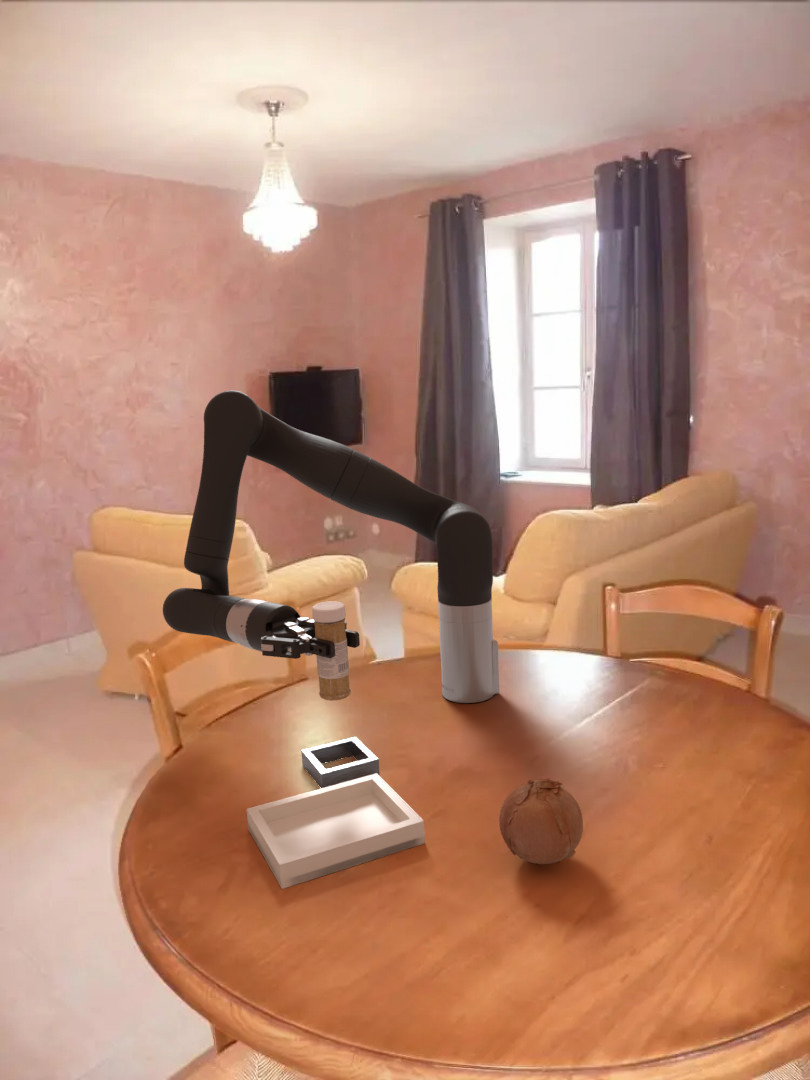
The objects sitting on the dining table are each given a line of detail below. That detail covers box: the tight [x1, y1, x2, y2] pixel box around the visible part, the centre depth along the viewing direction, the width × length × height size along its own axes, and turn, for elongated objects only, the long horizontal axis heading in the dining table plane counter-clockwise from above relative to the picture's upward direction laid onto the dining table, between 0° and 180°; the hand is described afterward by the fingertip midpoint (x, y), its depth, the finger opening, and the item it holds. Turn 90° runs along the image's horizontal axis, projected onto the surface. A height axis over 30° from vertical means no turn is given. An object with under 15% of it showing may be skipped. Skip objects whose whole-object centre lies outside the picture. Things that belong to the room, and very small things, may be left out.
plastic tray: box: [246, 773, 426, 890], centre depth 102 cm, size 18×14×3 cm
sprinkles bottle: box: [311, 600, 352, 702], centre depth 116 cm, size 5×5×14 cm
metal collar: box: [300, 736, 380, 789], centre depth 119 cm, size 9×9×2 cm
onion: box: [498, 777, 584, 866], centre depth 94 cm, size 10×9×10 cm
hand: (345, 645), depth 114 cm, fingers closed on sprinkles bottle, 4 cm apart
